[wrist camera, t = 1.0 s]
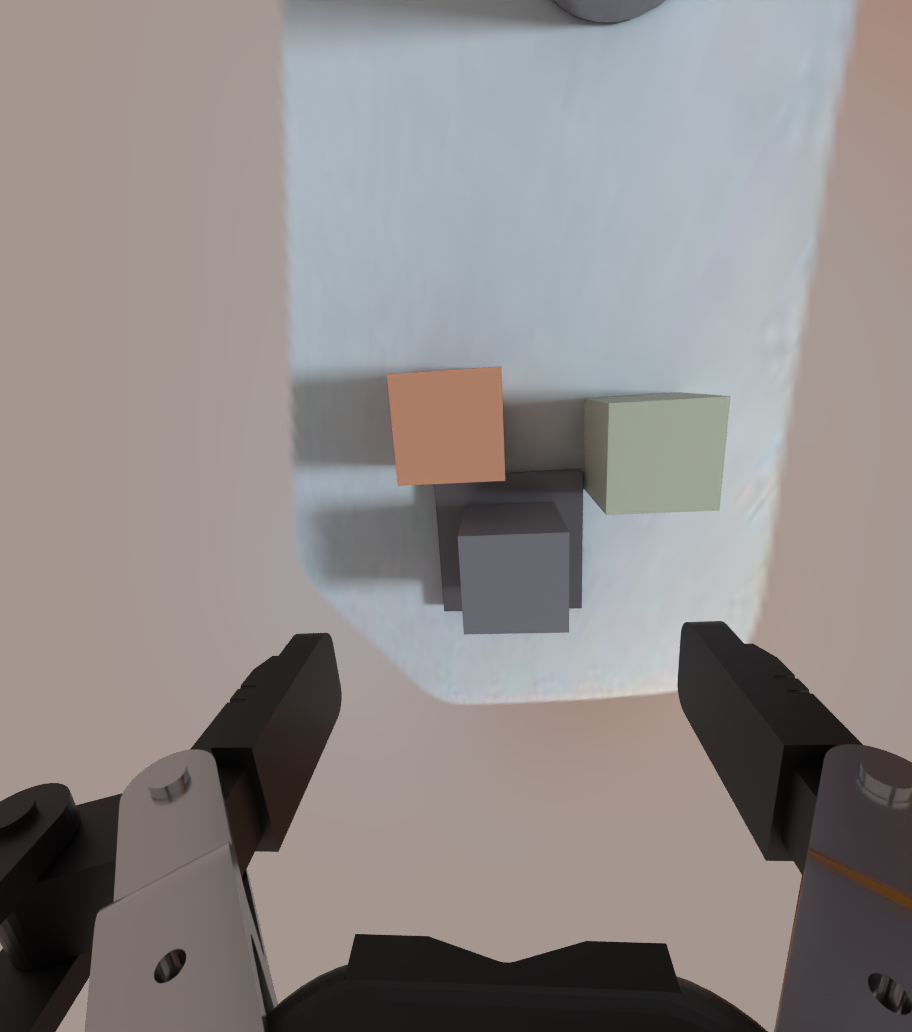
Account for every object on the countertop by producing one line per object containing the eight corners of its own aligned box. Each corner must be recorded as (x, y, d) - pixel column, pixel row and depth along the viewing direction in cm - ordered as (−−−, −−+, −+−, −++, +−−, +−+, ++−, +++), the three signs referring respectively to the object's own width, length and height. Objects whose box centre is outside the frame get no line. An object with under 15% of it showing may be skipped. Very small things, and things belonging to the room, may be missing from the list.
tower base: (436, 476, 30) (420, 504, 23) (580, 469, 29) (606, 496, 22) (445, 604, 32) (434, 663, 26) (578, 601, 32) (602, 661, 25)
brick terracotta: (408, 375, 28) (386, 374, 23) (499, 368, 28) (501, 366, 22) (415, 465, 30) (397, 485, 24) (502, 460, 29) (505, 480, 24)
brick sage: (584, 398, 28) (608, 403, 22) (680, 392, 28) (730, 396, 22) (583, 488, 30) (606, 514, 24) (674, 484, 29) (719, 510, 23)
